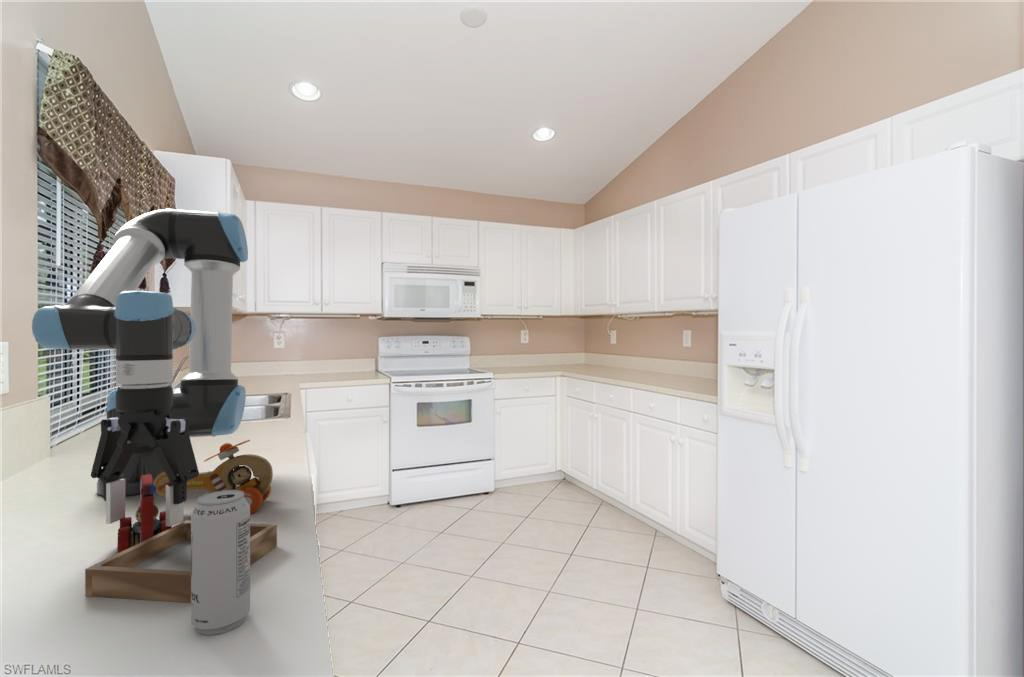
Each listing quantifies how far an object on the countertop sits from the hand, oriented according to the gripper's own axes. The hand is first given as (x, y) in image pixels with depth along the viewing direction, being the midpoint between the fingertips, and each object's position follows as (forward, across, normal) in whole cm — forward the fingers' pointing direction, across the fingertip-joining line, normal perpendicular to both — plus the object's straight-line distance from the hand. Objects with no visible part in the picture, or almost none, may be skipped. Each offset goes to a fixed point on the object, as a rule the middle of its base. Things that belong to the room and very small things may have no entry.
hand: (145, 521), depth 80 cm
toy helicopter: (+4, +1, +16) cm, 17 cm away
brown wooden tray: (+4, +14, -7) cm, 16 cm away
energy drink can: (+4, +28, -19) cm, 34 cm away
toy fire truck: (+4, 0, 0) cm, 4 cm away
